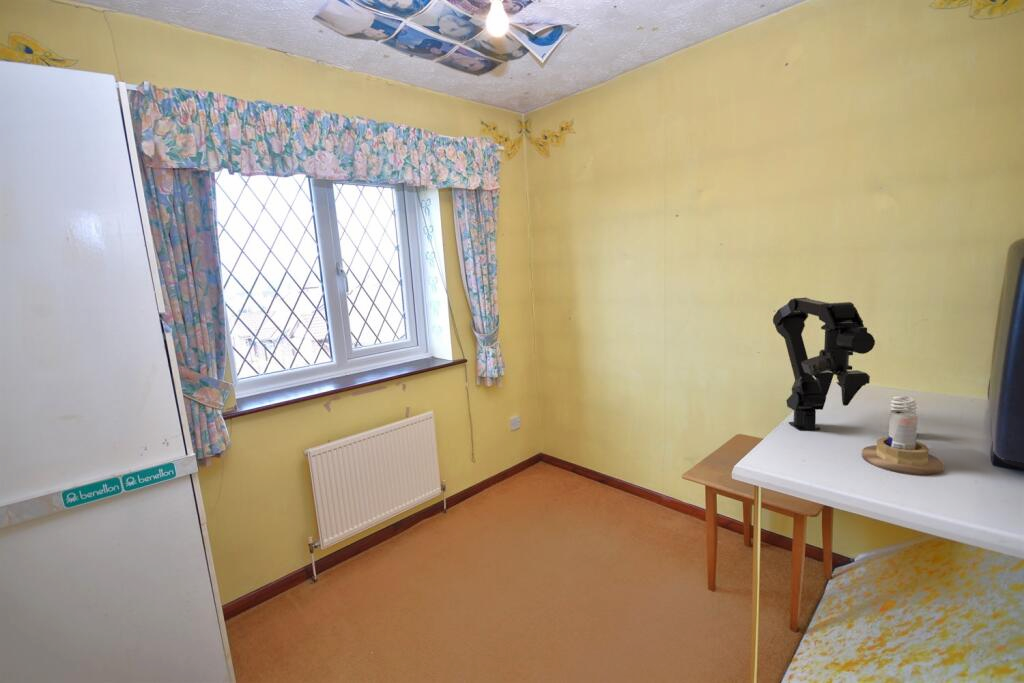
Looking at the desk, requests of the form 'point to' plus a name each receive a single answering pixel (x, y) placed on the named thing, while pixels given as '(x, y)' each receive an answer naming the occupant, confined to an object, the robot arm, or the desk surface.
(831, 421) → the desk surface
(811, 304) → the robot arm
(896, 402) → the light bulb
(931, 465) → the can stand
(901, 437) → the energy drink
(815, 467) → the desk surface
